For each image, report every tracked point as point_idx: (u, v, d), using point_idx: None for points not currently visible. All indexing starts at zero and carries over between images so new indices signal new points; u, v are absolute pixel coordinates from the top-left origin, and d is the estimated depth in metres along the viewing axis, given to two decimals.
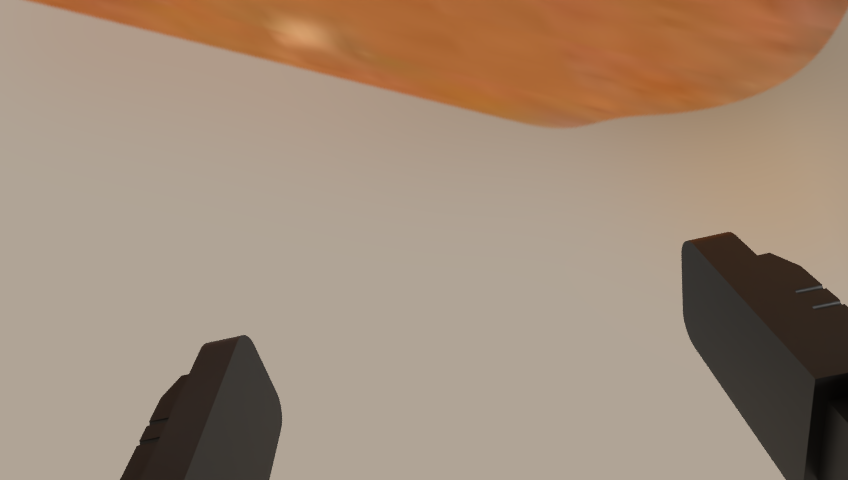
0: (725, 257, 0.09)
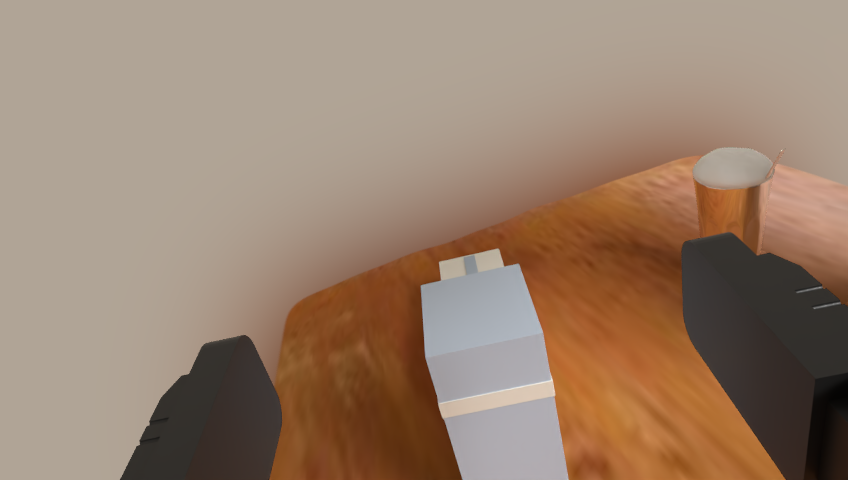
0: (725, 257, 0.09)
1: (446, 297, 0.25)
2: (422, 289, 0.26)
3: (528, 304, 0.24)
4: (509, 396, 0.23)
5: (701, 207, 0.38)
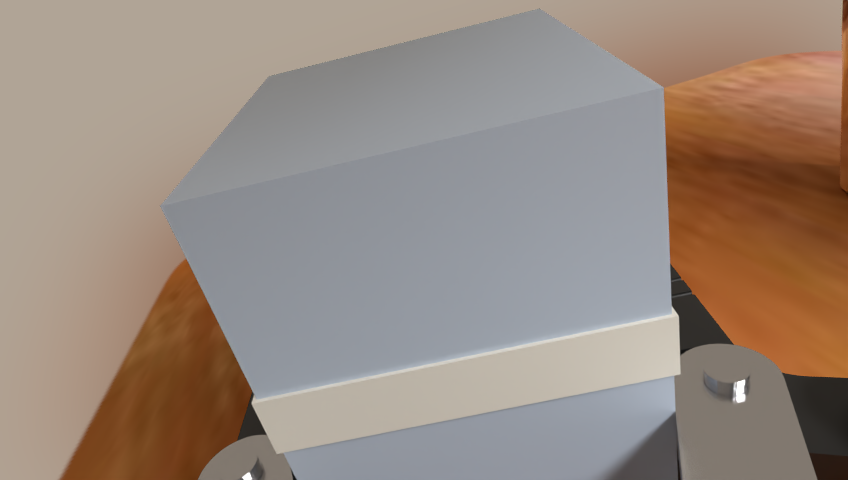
0: None
1: (322, 81, 0.08)
2: (268, 80, 0.09)
3: (580, 49, 0.07)
4: (512, 377, 0.06)
5: None
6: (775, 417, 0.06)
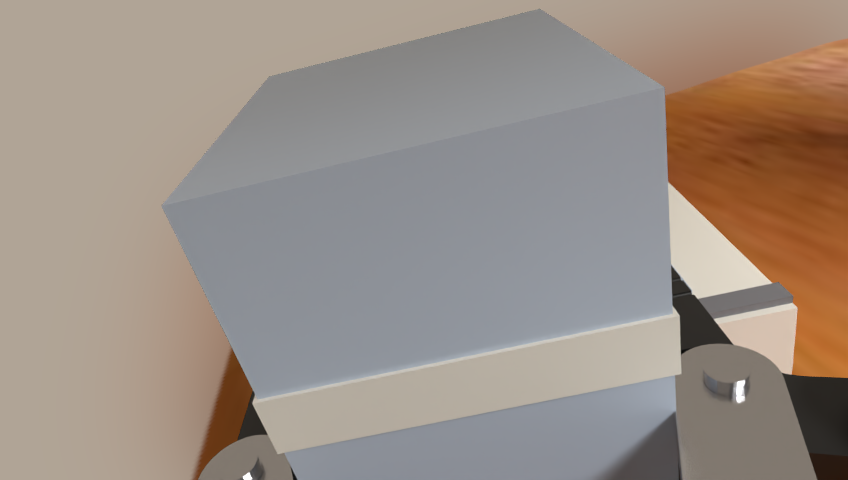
0: None
1: (323, 81, 0.08)
2: (268, 81, 0.09)
3: (581, 49, 0.07)
4: (513, 377, 0.06)
5: None
6: (775, 417, 0.06)
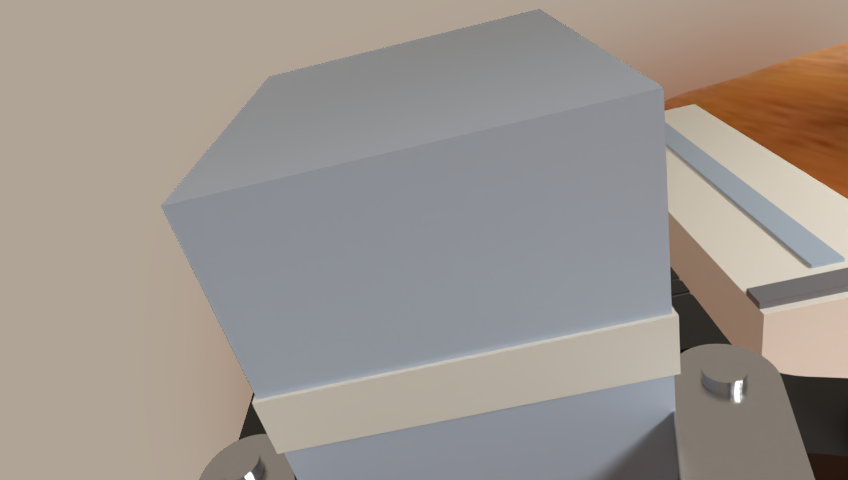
0: None
1: (323, 81, 0.08)
2: (268, 81, 0.09)
3: (581, 48, 0.07)
4: (512, 377, 0.06)
5: None
6: (772, 417, 0.06)
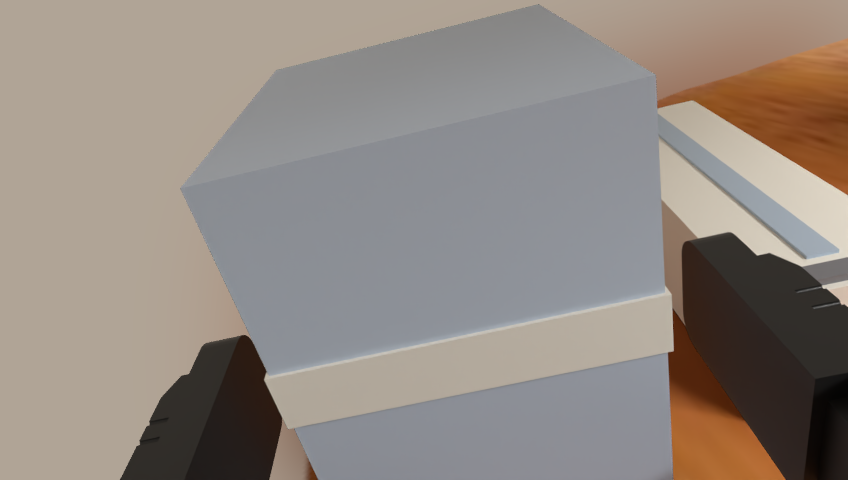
0: (725, 257, 0.09)
1: (329, 73, 0.09)
2: (276, 74, 0.10)
3: (578, 41, 0.07)
4: (512, 354, 0.07)
5: None
6: None
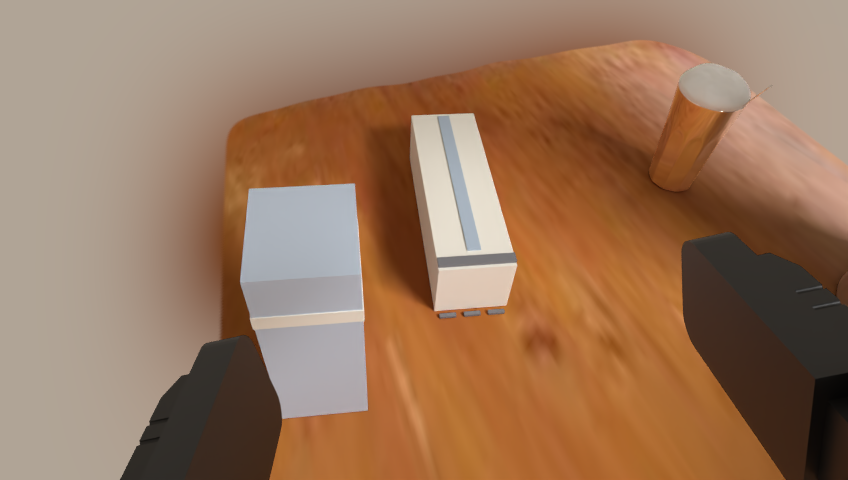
0: (725, 257, 0.09)
1: (273, 211, 0.24)
2: (250, 195, 0.25)
3: (353, 237, 0.24)
4: (320, 318, 0.24)
5: (674, 117, 0.40)
6: None
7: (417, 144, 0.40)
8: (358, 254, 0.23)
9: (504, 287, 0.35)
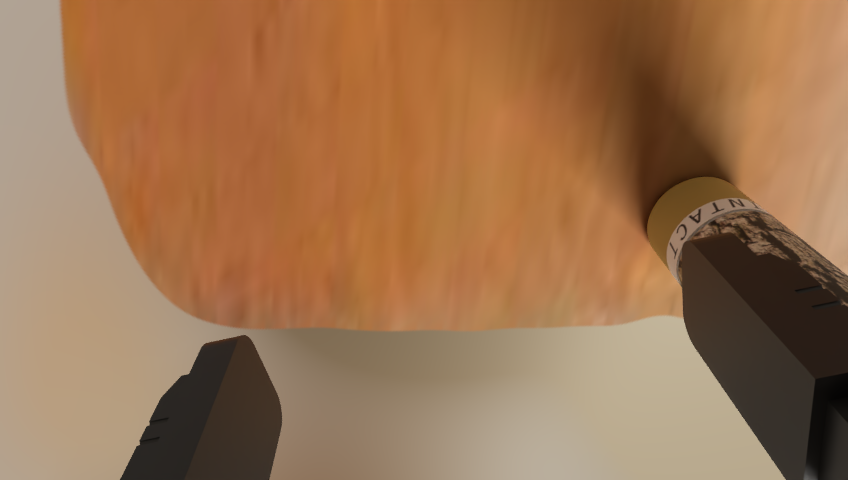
0: (725, 257, 0.09)
1: None
2: None
3: None
4: None
5: None
6: None
7: None
8: None
9: None
